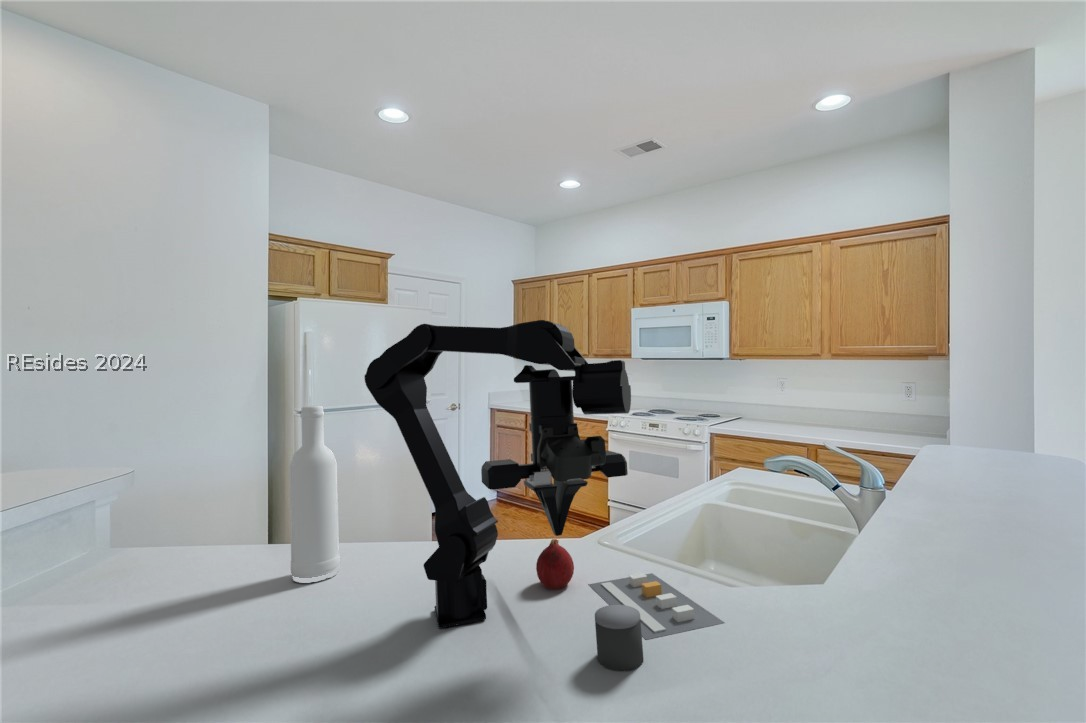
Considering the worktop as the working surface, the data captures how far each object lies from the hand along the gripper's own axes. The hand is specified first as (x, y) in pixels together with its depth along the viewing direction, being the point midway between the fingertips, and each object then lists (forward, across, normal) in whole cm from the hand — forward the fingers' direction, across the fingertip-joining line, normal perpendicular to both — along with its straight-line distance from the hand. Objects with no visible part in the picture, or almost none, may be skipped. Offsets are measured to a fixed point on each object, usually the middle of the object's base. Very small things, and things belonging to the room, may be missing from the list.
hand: (557, 534), depth 65 cm
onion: (+12, +3, +11) cm, 17 cm away
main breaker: (+11, +14, +2) cm, 18 cm away
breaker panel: (+12, +13, 0) cm, 18 cm away
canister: (+12, +3, -11) cm, 17 cm away
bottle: (+12, -34, +35) cm, 51 cm away
